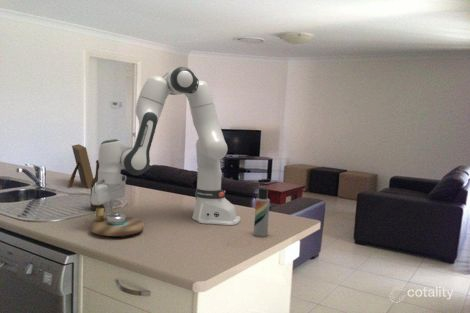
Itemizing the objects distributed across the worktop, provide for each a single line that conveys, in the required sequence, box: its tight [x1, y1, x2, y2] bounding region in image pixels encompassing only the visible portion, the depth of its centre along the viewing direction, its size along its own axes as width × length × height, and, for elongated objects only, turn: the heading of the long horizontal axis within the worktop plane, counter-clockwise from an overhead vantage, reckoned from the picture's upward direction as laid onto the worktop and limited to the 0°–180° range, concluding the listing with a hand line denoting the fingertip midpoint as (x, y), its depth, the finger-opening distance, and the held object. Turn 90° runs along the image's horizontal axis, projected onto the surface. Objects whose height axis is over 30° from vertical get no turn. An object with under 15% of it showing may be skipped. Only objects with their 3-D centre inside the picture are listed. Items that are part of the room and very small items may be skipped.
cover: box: [106, 211, 126, 226], centre depth 154 cm, size 7×7×4 cm
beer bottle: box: [90, 159, 105, 212], centre depth 186 cm, size 8×8×24 cm
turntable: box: [90, 208, 145, 237], centre depth 154 cm, size 20×20×7 cm
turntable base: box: [101, 234, 133, 238], centre depth 155 cm, size 14×14×1 cm
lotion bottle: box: [253, 186, 271, 238], centre depth 160 cm, size 6×6×20 cm
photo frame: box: [67, 143, 95, 189], centre depth 242 cm, size 15×22×25 cm
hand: (108, 211), depth 163 cm, fingers closed
